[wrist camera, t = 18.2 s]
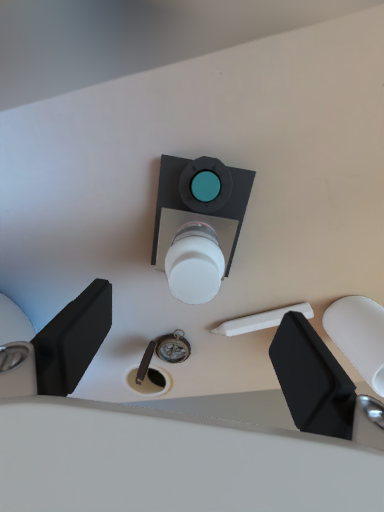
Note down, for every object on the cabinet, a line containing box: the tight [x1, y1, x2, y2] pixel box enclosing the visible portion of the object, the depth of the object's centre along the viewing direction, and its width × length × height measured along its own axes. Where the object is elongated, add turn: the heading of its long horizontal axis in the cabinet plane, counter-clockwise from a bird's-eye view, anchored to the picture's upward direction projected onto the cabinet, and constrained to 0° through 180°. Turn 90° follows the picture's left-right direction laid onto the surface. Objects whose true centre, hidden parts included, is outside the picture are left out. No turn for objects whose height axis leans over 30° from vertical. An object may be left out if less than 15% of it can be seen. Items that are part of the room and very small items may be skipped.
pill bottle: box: [165, 221, 225, 305], centre depth 19 cm, size 5×5×10 cm
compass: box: [136, 329, 191, 385], centre depth 31 cm, size 8×8×7 cm
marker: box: [210, 302, 314, 337], centre depth 31 cm, size 3×2×16 cm
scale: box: [151, 154, 256, 277], centre depth 25 cm, size 14×11×3 cm
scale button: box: [192, 172, 220, 201], centre depth 21 cm, size 3×3×2 cm
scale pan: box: [155, 207, 239, 281], centre depth 24 cm, size 8×9×1 cm
